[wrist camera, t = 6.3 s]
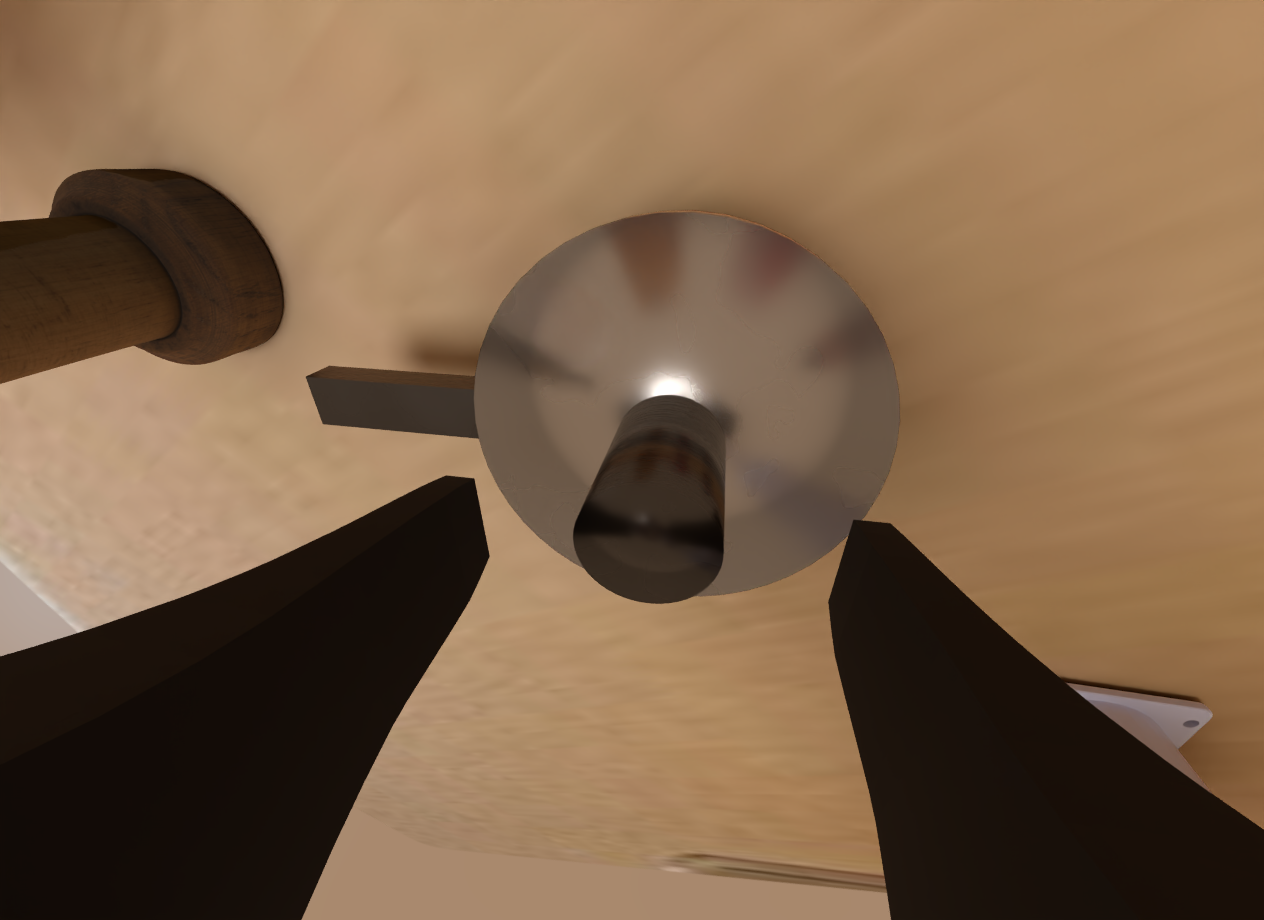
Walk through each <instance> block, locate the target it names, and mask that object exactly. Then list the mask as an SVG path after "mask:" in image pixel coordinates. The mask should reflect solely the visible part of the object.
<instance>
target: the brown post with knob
mask: <svg viewBox="0 0 1264 920" xmlns="http://www.w3.org/2000/svg"><path fill="white" fill-rule="evenodd" d="M282 304H283V298H282V291H281V286H280V282H279V278H278V274H277V271H276V269H275V265H274V263H273V261H272V258H271V256H270V254H269V252H268V250H267V248H266V247H265V245H264V243H263V242H262V240H261V239H260V237H259V235H258V234H257V233H256V231H255V230H254V228H253V227H252V226H251V224H250V223H249V222H248V221H247V219H246V218H245V217H244V216H243V215H242V214H241V213H240V212H239V211H238V210H237V209H236V208H235V207H234V206H233V205H232V204H231V203H229V202H228V201H227V200H226V199H225V198H223V197H222V196H221V195H220V194H218V193H217V192H216V191H214V190H213V189H211V188H210V187H208V186H206V185H205V184H203V183H202V182H200V181H198V180H196V179H194V178H191V177H189V176H187V175H184V174H181V173H178V172H174V171H169V170H161V169H96V170H87V171H82V172H78V173H76V174H73V175H71V176H70V177H68V178H67V179H65V180H64V181H63V182H62V184H61V185H60V186H59V188H58V189H57V191H56V193H55V196H54V199H53V204H52V210H51V212H50V215H49V218H43V219H29V220H16V221H3V222H0V384H1V383H5V382H8V381H12V380H15V379H19V378H22V377H25V376H29V375H32V374H36V373H39V372H43V371H46V370H50V369H53V368H56V367H60V366H63V365H67V364H70V363H74V362H77V361H81V360H85V359H88V358H92V357H95V356H99V355H102V354H106V353H109V352H113V351H116V350H120V349H123V348H127V347H130V346H136V347H138V348H140V349H143V350H145V351H147V352H149V353H151V354H153V355H155V356H157V357H160V358H162V359H165V360H168V361H172V362H176V363H180V364H190V365H199V364H206V363H211V362H214V361H217V360H220V359H223V358H226V357H228V356H231V355H233V354H236V353H239V352H242V351H245V350H248V349H251V348H254V347H256V346H258V345H260V344H262V343H264V342H265V341H267V340H268V339H269V338H270V337H271V336H272V335H273V334H274V332H275V331H276V329H277V327H278V325H279V323H280V319H281V315H282Z"/></svg>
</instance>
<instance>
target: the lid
mask: <svg viewBox="0 0 1264 920" xmlns="http://www.w3.org/2000/svg"><path fill="white" fill-rule="evenodd" d="M474 407H475V421H476V426H477V431H478V436H479V440H480V445H481V448H482V450H483V453H484V456H485V459H486V462H487V465H488V467H489V469H490V471H491V473H492V475H493V477H494V479H495V482H496V484H497V486H498V487H499V489H500V490H501V492H502V493H503V495H504V497H505V498H506V500H507V501H508V503H509V504H510V506H511V507H512V508H513V509H514V511H515V512H516V513H517V514H518V516H519V517H520V518H521V519H522V521H523V522H524V523H525V524H526V525H527V526H528V527H529V528H530V529H531V530H532V531H533V532H534V533H535V534H536V535H537V536H538V537H539V538H540V539H542V540H543V541H544V542H545V543H547V544H548V545H549V546H550V547H551V548H553V549H554V550H555V551H557V552H558V553H560V554H561V555H563V556H564V557H566V558H567V559H569V560H570V561H572V562H573V563H575V564H577V565H578V566H580V567H582V568H584V569H585V570H586V571H587V573H588V574H589V575H590V576H591V577H592V578H593V579H594V580H595V581H597V582H598V583H599V584H600V585H602V586H603V587H605V588H606V589H608V590H609V591H611V592H613V593H615V594H617V595H620V596H622V597H624V598H627V599H631V600H634V601H639V602H644V603H655V604H663V603H673V602H678V601H682V600H685V599H688V598H691V597H693V596H712V595H724V594H730V593H736V592H742V591H747V590H750V589H754V588H758V587H761V586H765V585H768V584H771V583H773V582H776V581H778V580H781V579H783V578H786V577H788V576H791V575H793V574H794V573H796V572H798V571H800V570H802V569H804V568H806V567H808V566H810V565H811V564H813V563H814V562H816V561H817V560H818V559H820V558H821V557H823V556H824V555H826V554H827V553H829V552H830V551H831V550H832V549H833V548H835V547H836V546H837V545H838V544H839V543H840V542H841V541H842V540H844V539H845V538H846V537H847V536H848V535H849V532H850V529H851V526H852V522H853V520H862V519H863V518H864V517H865V515H866V514H867V512H868V511H869V509H870V507H871V506H872V504H873V503H874V501H875V500H876V498H877V497H878V495H879V493H880V491H881V489H882V486H883V484H884V482H885V480H886V478H887V476H888V474H889V471H890V467H891V464H892V461H893V457H894V454H895V450H896V446H897V439H898V431H899V424H900V406H899V389H898V384H897V379H896V374H895V369H894V364H893V361H892V358H891V356H890V353H889V350H888V348H887V345H886V342H885V339H884V337H883V335H882V333H881V331H880V329H879V328H878V326H877V324H876V322H875V321H874V319H873V317H872V315H871V314H870V312H869V310H868V308H867V307H866V306H865V305H864V303H863V302H862V301H861V300H860V298H859V297H858V296H857V295H856V293H855V292H854V291H853V290H852V288H851V287H850V286H849V285H848V283H847V282H845V281H844V280H843V279H842V278H841V277H840V276H839V275H838V274H837V273H836V272H834V271H833V270H832V269H831V268H830V267H829V266H828V265H827V264H826V263H825V262H823V261H822V260H821V259H820V258H819V257H818V256H817V255H815V254H814V253H812V252H811V251H809V250H808V249H806V248H805V247H803V246H802V245H800V244H799V243H797V242H796V241H794V240H793V239H791V238H789V237H787V236H785V235H783V234H781V233H779V232H776V231H774V230H772V229H770V228H768V227H766V226H763V225H761V224H759V223H755V222H752V221H748V220H745V219H741V218H738V217H734V216H731V215H727V214H720V213H712V212H705V211H697V210H681V211H658V212H652V213H646V214H640V215H634V216H630V217H627V218H624V219H620V220H617V221H614V222H611V223H608V224H605V225H602V226H599V227H596V228H593V229H591V230H589V231H587V232H585V233H583V234H581V235H579V236H577V237H575V238H573V239H571V240H569V241H567V242H565V243H564V244H562V245H561V246H559V247H558V248H556V249H555V250H554V251H552V252H551V253H549V254H548V255H546V256H545V257H544V258H542V259H541V260H540V261H538V262H537V263H536V264H535V265H534V266H533V267H532V268H531V269H530V270H529V271H528V272H527V273H526V274H525V275H524V276H523V277H522V278H521V279H520V280H519V281H518V282H517V283H516V285H515V286H514V287H513V289H512V290H511V291H510V293H509V294H508V295H507V296H506V298H505V299H504V300H503V302H502V303H501V305H500V307H499V309H498V311H497V312H496V314H495V316H494V318H493V320H492V322H491V323H490V325H489V328H488V330H487V333H486V336H485V339H484V341H483V344H482V347H481V349H480V354H479V359H478V364H477V368H476V373H475V387H474Z"/></svg>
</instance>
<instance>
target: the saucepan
mask: <svg viewBox="0 0 1264 920" xmlns="http://www.w3.org/2000/svg"><path fill="white" fill-rule="evenodd" d="M306 379H307V382H308V385H309V387H310V390H311V393H312V396H313V398H314V401H315V404H316V406H317V409H318V412H319V415H320V417H321V420H322V423H323V424H328V425H339V426H350V427H360V428H371V429H382V430H393V431H403V432H414V433H425V434H435V435H446V436H457V437H468V438H478V439H479V436H478V431H477V426H476V421H475V407H474V387H475V376H463V375H449V374H435V373H421V372H407V371H393V370H379V369H366V368H352V367H338V366H328V367H326V368H324V369H321V370H319V371H317V372H315V373H313V374H311V375H308V376H306Z"/></svg>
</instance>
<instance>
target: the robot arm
mask: <svg viewBox="0 0 1264 920" xmlns="http://www.w3.org/2000/svg"><path fill="white" fill-rule="evenodd" d="M489 557H490V556H489V551H488V546H487V541H486V535H485V530H484V525H483V520H482V515H481V510H480V505H479V500H478V495H477V490H476V485H475V480H474V478H465V477H455V476H444V477H442V478H439V479H437V480H434V481H432V482H430V483H428V484H426V485H424V486H422V487H420V488H418V489H416V490H413V491H411V492H409V493H408V494H406V495H404V496H402V497H400V498H398V499H396V500H394V501H392V502H390V503H388V504H386V505H384V506H382V507H380V508H378V509H376V510H374V511H372V512H370V513H368V514H367V515H365V516H363V517H361V518H359V519H357V520H355V521H353V522H351V523H349V524H347V525H345V526H343V527H341V528H339V529H337V530H335V531H333V532H331V533H329V534H327V535H324V536H322V537H320V538H318V539H316V540H314V541H312V542H310V543H308V544H306V545H303V546H301V547H299V548H297V549H295V550H293V551H291V552H289V553H287V554H284V555H282V556H280V557H278V558H276V559H274V560H272V561H269V562H267V563H265V564H262V565H260V566H258V567H256V568H253V569H251V570H249V571H246V572H244V573H241V574H239V575H237V576H234V577H232V578H229V579H227V580H224V581H222V582H219V583H217V584H214V585H212V586H209V587H207V588H204V589H202V590H199V591H197V592H194V593H191V594H189V595H186V596H184V597H181V598H178V599H175V600H172V601H170V602H167V603H164V604H161V605H158V606H155V607H152V608H149V609H147V610H144V611H141V612H138V613H135V614H132V615H129V616H126V617H124V618H121V619H118V620H115V621H112V622H109V623H106V624H103V625H101V626H98V627H95V628H92V629H89V630H86V631H83V632H80V633H76V634H73V635H70V636H67V637H63V638H60V639H57V640H54V641H50V642H47V643H44V644H41V645H38V646H35V647H31V648H28V649H25V650H21V651H17V652H14V653H11V654H7V655H4V656H0V920H301V919H302V917H303V915H304V913H305V910H306V908H307V906H308V903H309V901H310V899H311V897H312V894H313V892H314V890H315V888H316V885H317V883H318V881H319V878H320V876H321V874H322V872H323V869H324V867H325V865H326V863H327V860H328V858H329V856H330V854H331V851H332V849H333V847H334V845H335V843H336V840H337V838H338V836H339V834H340V832H341V830H342V828H343V826H344V824H345V821H346V819H347V817H348V815H349V813H350V811H351V809H352V807H353V805H354V802H355V800H356V798H357V796H358V794H359V792H360V790H361V788H362V786H363V783H364V781H365V779H366V778H367V776H368V774H369V772H370V770H371V768H372V766H373V764H374V762H375V760H376V758H377V756H378V754H379V752H380V750H381V748H382V746H383V744H384V742H385V740H386V738H387V736H388V734H389V732H390V730H391V728H392V726H393V724H394V723H395V721H396V719H397V718H398V716H399V714H400V712H401V711H402V709H403V707H404V705H405V704H406V702H407V700H408V699H409V697H410V696H411V694H412V692H413V691H414V689H415V688H416V686H417V684H418V683H419V681H420V680H421V678H422V676H423V675H424V673H425V672H426V670H427V669H428V667H429V665H430V664H431V662H432V661H433V659H434V657H435V656H436V654H437V653H438V651H439V649H440V648H441V646H442V645H443V643H444V642H445V640H446V638H447V637H448V635H449V634H450V632H451V630H452V629H453V627H454V625H455V624H456V622H457V621H458V619H459V617H460V616H461V614H462V612H463V611H464V609H465V607H466V606H467V604H468V602H469V601H470V599H471V597H472V595H473V593H474V590H475V588H476V586H477V584H478V582H479V580H480V577H481V575H482V573H483V571H484V568H485V566H486V564H487V561H488V559H489ZM828 603H829V612H830V621H831V630H832V638H833V645H834V653H835V658H836V662H837V666H838V670H839V674H840V679H841V683H842V687H843V691H844V695H845V699H846V703H847V707H848V710H849V714H850V718H851V722H852V726H853V730H854V734H855V738H856V742H857V746H858V750H859V753H860V757H861V761H862V765H863V769H864V773H865V777H866V781H867V785H868V789H869V793H870V798H871V803H872V807H873V812H874V816H875V821H876V827H877V833H878V839H879V845H880V851H881V858H882V864H883V870H884V876H885V883H886V889H887V895H888V902H889V908H890V915H891V920H1264V830H1263V829H1262V828H1261V827H1259V826H1258V825H1256V824H1255V823H1253V822H1252V821H1251V820H1249V819H1248V818H1246V817H1245V816H1243V815H1242V814H1240V813H1239V812H1238V811H1236V810H1235V809H1233V808H1232V807H1230V806H1229V805H1227V804H1226V803H1225V802H1223V801H1222V800H1220V799H1219V798H1217V797H1216V796H1214V795H1213V794H1212V792H1211V791H1210V790H1209V789H1208V787H1207V786H1206V785H1205V784H1204V782H1203V781H1202V780H1201V778H1200V777H1199V776H1198V775H1197V773H1196V772H1195V771H1194V770H1193V768H1192V767H1191V766H1190V764H1189V763H1188V762H1187V761H1186V759H1185V758H1184V757H1183V755H1182V754H1181V753H1180V752H1179V750H1178V749H1179V748H1180V747H1181V746H1182V745H1183V744H1184V743H1185V742H1186V741H1188V740H1189V739H1190V738H1191V737H1192V736H1193V735H1194V734H1195V733H1196V732H1197V731H1198V730H1199V729H1200V728H1202V727H1203V726H1204V725H1205V724H1206V723H1207V722H1208V721H1209V720H1210V719H1211V718H1212V716H1213V714H1212V712H1211V711H1210V710H1209V708H1208V707H1207V706H1206V705H1204V704H1203V703H1199V702H1194V701H1187V700H1180V699H1173V698H1167V697H1160V696H1153V695H1146V694H1139V693H1133V692H1126V691H1119V690H1112V689H1106V688H1099V687H1092V686H1085V685H1078V684H1072V683H1065V682H1064V681H1063V680H1062V679H1060V678H1059V677H1058V676H1057V675H1056V674H1055V673H1053V672H1052V671H1051V670H1050V669H1049V668H1048V667H1046V666H1045V665H1044V664H1043V663H1042V662H1040V661H1039V660H1038V659H1037V658H1036V657H1035V656H1033V655H1032V654H1031V653H1030V652H1029V651H1027V650H1026V649H1025V648H1024V647H1023V646H1022V645H1020V644H1019V643H1018V642H1017V641H1016V640H1015V639H1014V638H1012V637H1011V636H1010V635H1009V634H1008V633H1007V632H1006V631H1005V630H1003V629H1002V628H1001V627H1000V626H999V625H998V624H997V623H996V622H994V621H993V620H992V619H991V618H990V617H989V616H988V615H987V614H986V613H985V612H984V611H982V610H981V609H980V608H979V607H978V606H977V605H976V604H975V603H974V602H973V601H972V600H971V599H970V598H968V597H967V596H966V595H965V594H964V593H963V592H962V591H961V590H960V589H959V588H958V587H957V586H956V585H955V584H954V583H953V582H951V581H950V580H949V579H948V578H947V577H946V576H945V575H944V574H943V573H942V572H941V571H940V570H939V569H938V568H937V567H936V566H935V565H934V564H933V563H932V562H931V561H930V560H929V559H928V558H927V557H926V556H924V555H923V554H922V553H921V552H920V551H919V550H918V549H917V548H916V547H915V546H914V545H913V544H912V543H911V542H910V541H909V540H908V539H907V538H906V537H905V536H904V535H903V534H901V533H900V532H899V531H898V530H897V529H896V528H895V527H894V526H893V525H891V524H890V523H881V522H872V521H862V520H853V522H852V526H851V529H850V532H849V536H848V539H847V542H846V545H845V549H844V552H843V555H842V559H841V562H840V565H839V569H838V572H837V575H836V578H835V582H834V585H833V588H832V592H831V595H830V598H829V602H828Z"/></svg>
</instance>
